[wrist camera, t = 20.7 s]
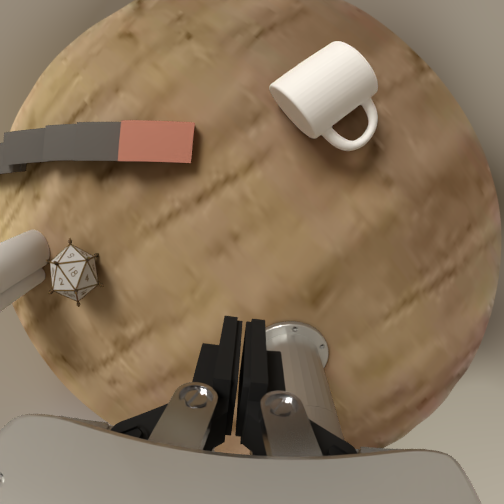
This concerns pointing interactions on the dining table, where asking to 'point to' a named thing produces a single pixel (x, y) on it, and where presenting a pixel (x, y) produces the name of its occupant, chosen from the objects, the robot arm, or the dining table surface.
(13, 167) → the black tile
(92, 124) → the black tile
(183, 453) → the robot arm
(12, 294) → the vase
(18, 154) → the black tile
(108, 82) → the dining table surface
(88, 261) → the game die
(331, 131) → the mug
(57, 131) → the dark gray domino tile
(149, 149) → the red tile
